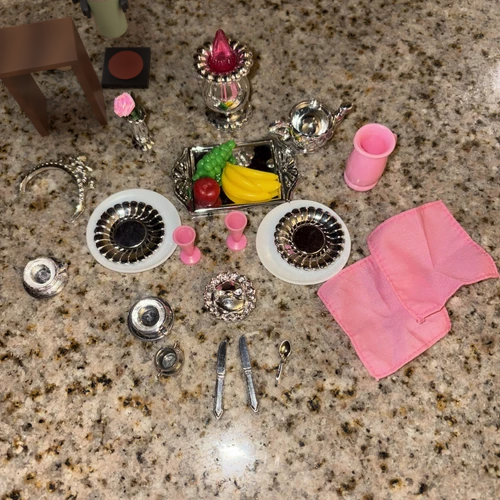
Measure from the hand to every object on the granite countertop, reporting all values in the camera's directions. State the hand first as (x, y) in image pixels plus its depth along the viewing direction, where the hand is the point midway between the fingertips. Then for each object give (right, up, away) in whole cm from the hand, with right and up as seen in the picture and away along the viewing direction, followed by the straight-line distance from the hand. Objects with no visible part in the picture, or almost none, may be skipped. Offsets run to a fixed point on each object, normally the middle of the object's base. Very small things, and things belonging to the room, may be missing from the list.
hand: (106, 11), depth 91 cm
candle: (-15, -2, +19) cm, 24 cm away
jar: (-1, 0, +6) cm, 6 cm away
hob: (-1, -4, +18) cm, 19 cm away
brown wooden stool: (-12, -14, +15) cm, 24 cm away
